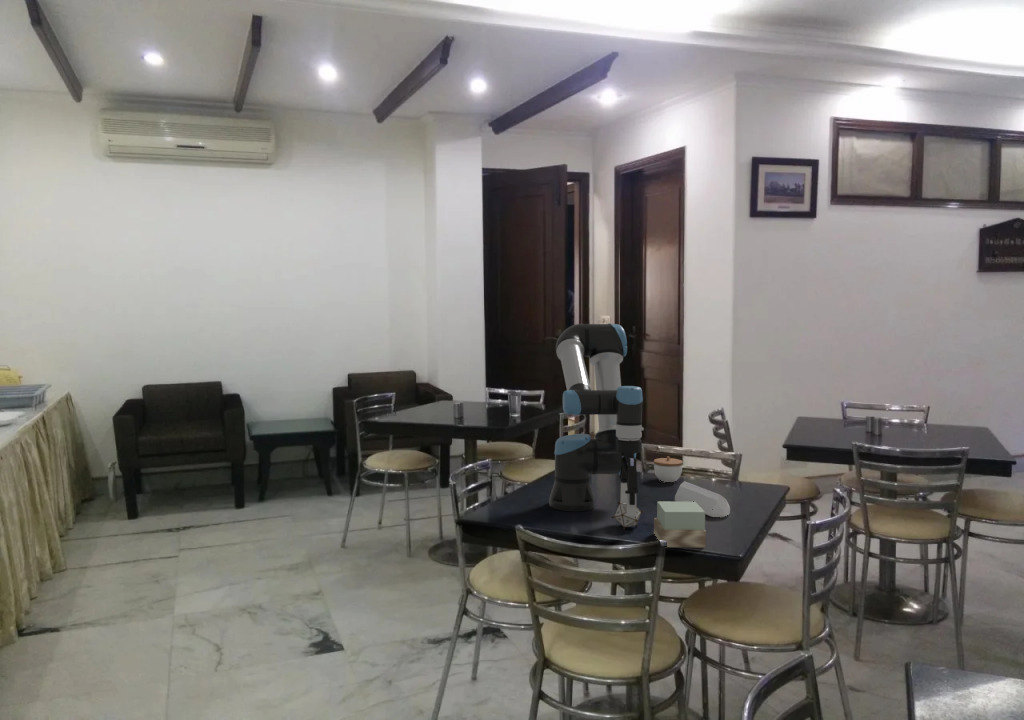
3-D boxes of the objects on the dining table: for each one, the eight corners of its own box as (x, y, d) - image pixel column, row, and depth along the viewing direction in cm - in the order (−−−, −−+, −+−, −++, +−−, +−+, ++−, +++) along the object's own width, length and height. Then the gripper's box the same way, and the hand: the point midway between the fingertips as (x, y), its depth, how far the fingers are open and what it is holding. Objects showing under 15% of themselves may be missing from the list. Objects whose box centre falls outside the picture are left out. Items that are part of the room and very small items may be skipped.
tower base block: (661, 548, 206) (662, 530, 205) (653, 534, 218) (654, 518, 217) (705, 548, 206) (705, 530, 205) (695, 535, 218) (695, 518, 217)
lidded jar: (648, 478, 288) (649, 454, 287) (674, 477, 290) (675, 453, 290) (660, 485, 277) (661, 459, 277) (687, 483, 280) (687, 458, 279)
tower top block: (664, 529, 206) (665, 511, 206) (657, 518, 217) (657, 501, 217) (704, 529, 206) (705, 512, 206) (695, 518, 217) (695, 501, 217)
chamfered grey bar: (666, 490, 254) (709, 508, 232) (682, 478, 256) (726, 495, 234) (675, 508, 256) (718, 527, 234) (691, 496, 258) (735, 514, 236)
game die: (633, 541, 223) (646, 519, 217) (606, 530, 223) (619, 509, 217) (635, 519, 230) (648, 498, 224) (609, 509, 230) (622, 488, 224)
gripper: (648, 445, 209) (647, 520, 210) (635, 432, 234) (634, 499, 235) (621, 445, 209) (620, 520, 210) (611, 432, 234) (610, 499, 235)
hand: (628, 509), depth 223 cm, fingers open, 13 cm apart
